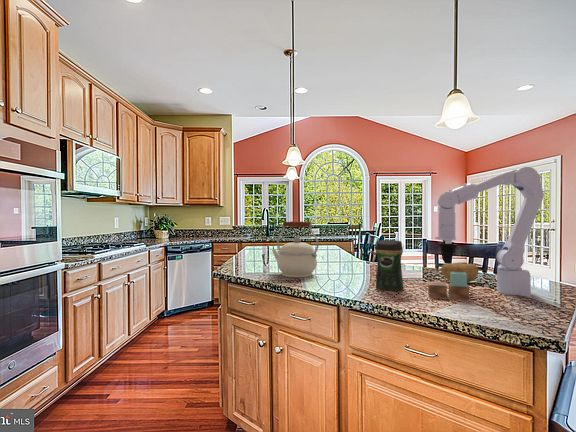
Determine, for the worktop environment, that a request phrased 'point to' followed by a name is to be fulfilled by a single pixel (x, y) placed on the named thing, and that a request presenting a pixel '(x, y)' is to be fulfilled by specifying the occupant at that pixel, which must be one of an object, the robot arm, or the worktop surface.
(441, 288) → the walnut block
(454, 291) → the walnut block
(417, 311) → the worktop surface
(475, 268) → the potato
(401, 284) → the coffee jar
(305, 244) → the kettle
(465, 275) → the teal block
